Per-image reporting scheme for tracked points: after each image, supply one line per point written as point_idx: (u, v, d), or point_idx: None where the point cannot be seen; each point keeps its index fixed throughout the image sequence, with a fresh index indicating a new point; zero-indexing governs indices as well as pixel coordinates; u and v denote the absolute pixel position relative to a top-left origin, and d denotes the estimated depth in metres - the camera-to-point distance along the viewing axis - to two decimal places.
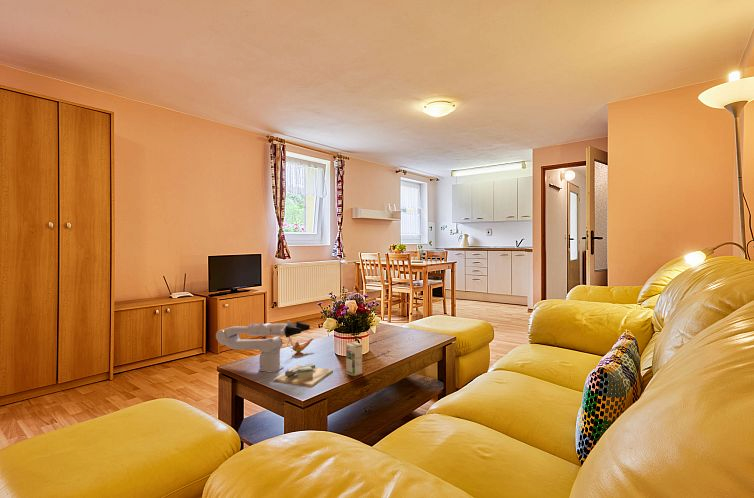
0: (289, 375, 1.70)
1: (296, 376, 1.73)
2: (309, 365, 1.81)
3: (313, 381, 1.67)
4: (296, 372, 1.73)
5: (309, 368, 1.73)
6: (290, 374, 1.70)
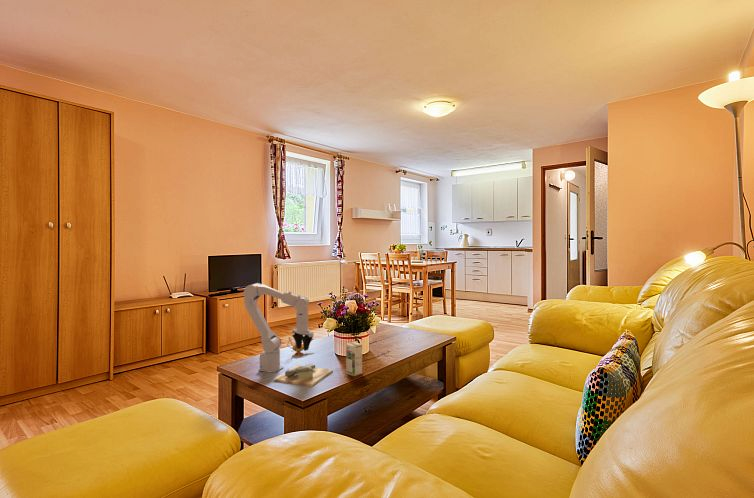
0: (289, 375, 1.70)
1: (296, 376, 1.73)
2: (309, 365, 1.81)
3: (313, 381, 1.67)
4: (296, 372, 1.73)
5: (309, 368, 1.73)
6: (290, 374, 1.70)
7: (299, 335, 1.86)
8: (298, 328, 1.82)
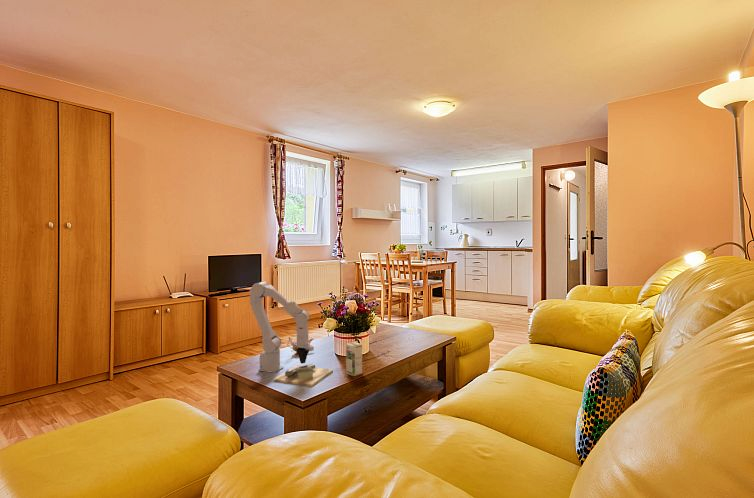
0: (289, 375, 1.70)
1: (296, 376, 1.73)
2: (309, 365, 1.81)
3: (313, 381, 1.67)
4: (296, 372, 1.73)
5: (309, 368, 1.73)
6: (290, 374, 1.70)
7: None
8: (298, 342, 1.82)
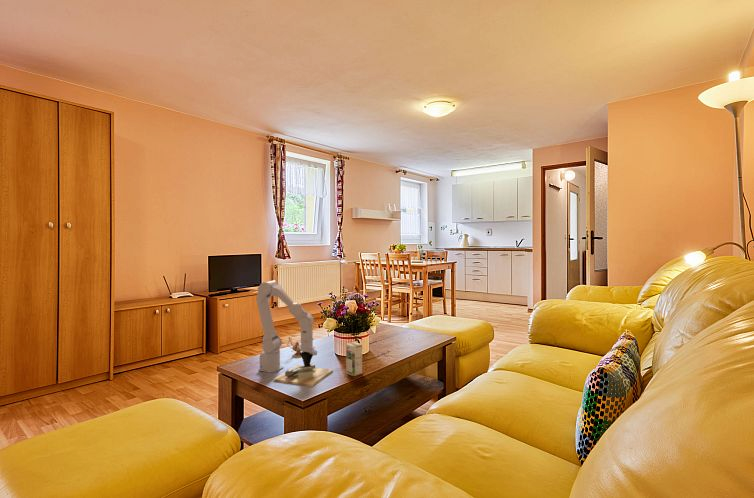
0: (289, 375, 1.70)
1: (296, 376, 1.73)
2: (309, 365, 1.81)
3: (313, 381, 1.67)
4: (296, 372, 1.73)
5: (309, 368, 1.73)
6: (290, 374, 1.70)
7: None
8: (302, 346, 1.80)
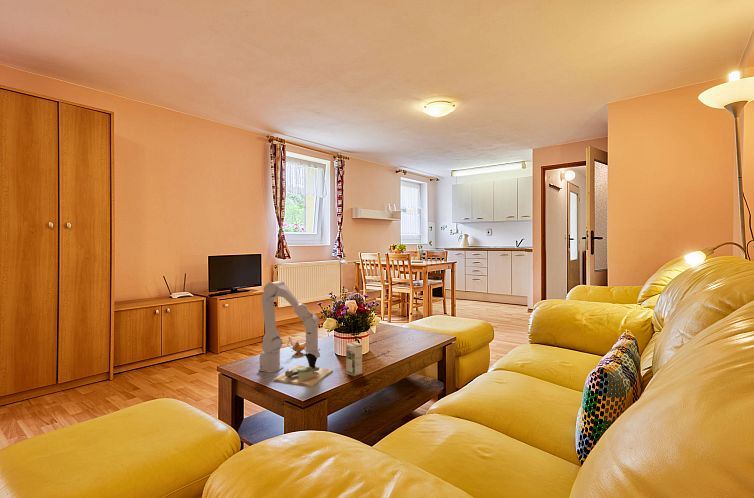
0: (288, 375, 1.70)
1: (296, 376, 1.73)
2: (313, 367, 1.78)
3: (313, 381, 1.67)
4: (296, 373, 1.72)
5: (309, 368, 1.73)
6: (289, 374, 1.70)
7: None
8: (306, 347, 1.78)
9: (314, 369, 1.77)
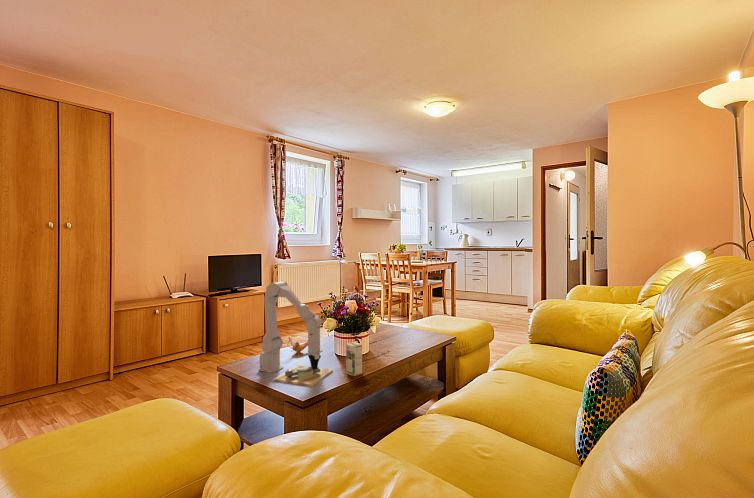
0: (287, 375, 1.70)
1: (296, 376, 1.73)
2: (314, 368, 1.76)
3: (313, 381, 1.67)
4: (296, 373, 1.72)
5: (309, 368, 1.73)
6: (288, 374, 1.70)
7: None
8: (308, 348, 1.77)
9: (315, 371, 1.75)
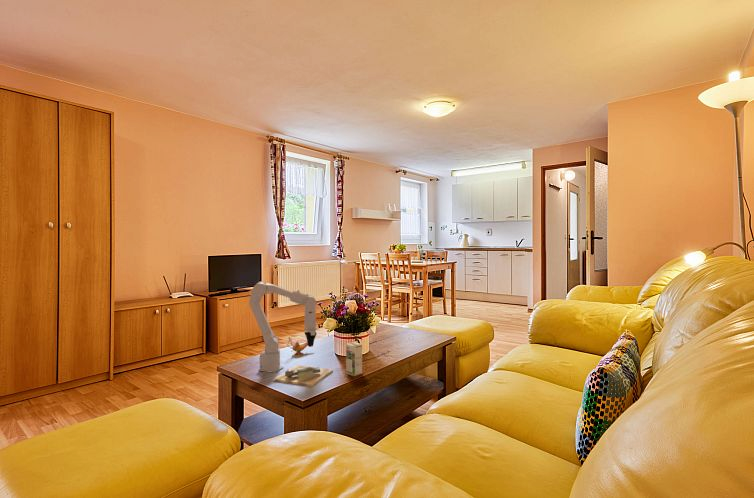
0: (287, 375, 1.70)
1: (296, 376, 1.73)
2: (314, 368, 1.76)
3: (313, 381, 1.67)
4: (296, 373, 1.71)
5: (309, 368, 1.73)
6: (288, 374, 1.70)
7: None
8: (305, 325, 1.88)
9: (315, 371, 1.75)
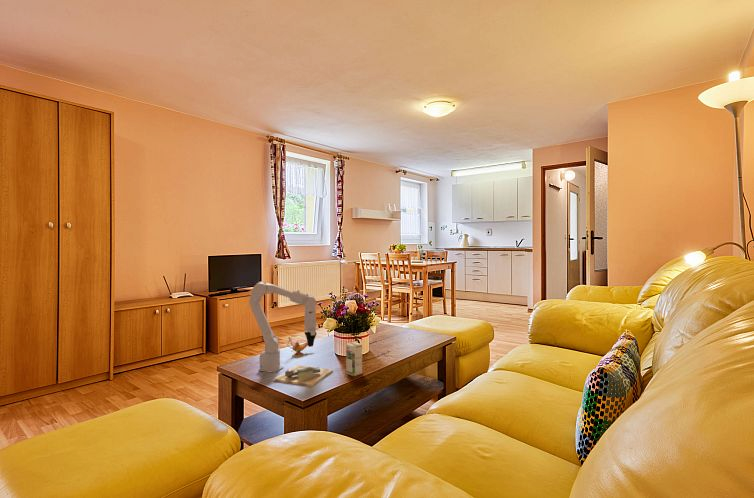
0: (287, 375, 1.70)
1: (296, 376, 1.73)
2: (314, 368, 1.76)
3: (313, 381, 1.67)
4: (296, 373, 1.71)
5: (309, 368, 1.73)
6: (288, 374, 1.70)
7: None
8: (305, 325, 1.88)
9: (315, 371, 1.75)
